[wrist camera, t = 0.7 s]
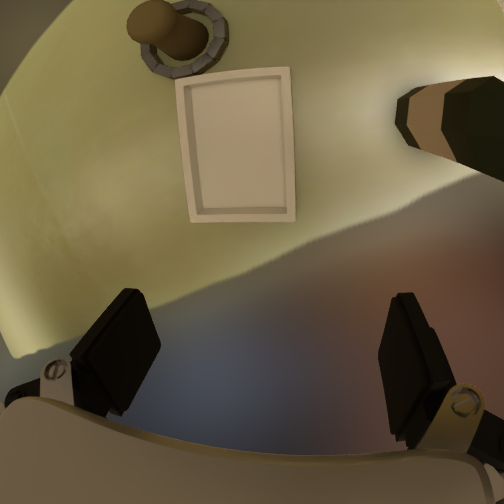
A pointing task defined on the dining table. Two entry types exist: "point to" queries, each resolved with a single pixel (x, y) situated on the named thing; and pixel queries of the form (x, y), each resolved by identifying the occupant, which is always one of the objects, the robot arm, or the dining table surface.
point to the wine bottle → (457, 122)
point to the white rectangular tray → (238, 145)
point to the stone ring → (205, 60)
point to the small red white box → (501, 4)
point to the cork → (167, 30)
